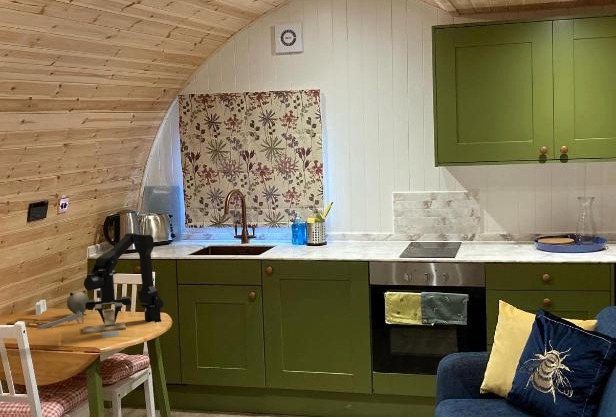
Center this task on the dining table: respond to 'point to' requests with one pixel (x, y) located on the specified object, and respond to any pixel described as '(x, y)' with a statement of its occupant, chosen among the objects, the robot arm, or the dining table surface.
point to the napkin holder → (40, 306)
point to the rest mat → (110, 334)
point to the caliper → (64, 320)
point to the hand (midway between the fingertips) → (109, 322)
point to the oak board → (103, 328)
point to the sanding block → (109, 317)
